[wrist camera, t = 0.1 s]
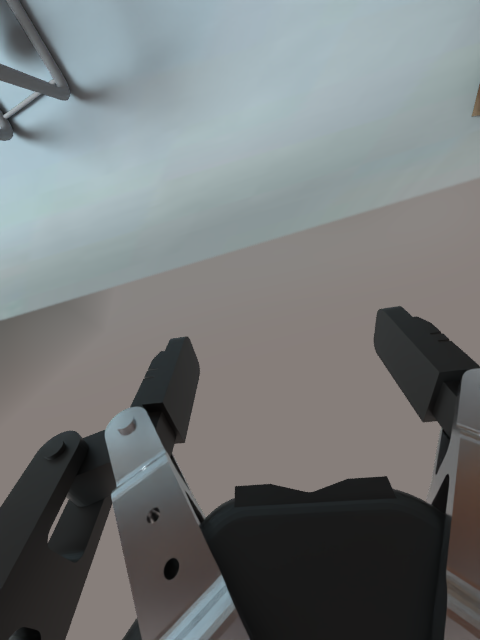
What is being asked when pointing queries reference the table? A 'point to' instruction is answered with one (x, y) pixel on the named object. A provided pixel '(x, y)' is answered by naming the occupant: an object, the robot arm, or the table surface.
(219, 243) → the table surface
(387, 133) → the table surface
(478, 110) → the tray
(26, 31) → the newton's cradle
